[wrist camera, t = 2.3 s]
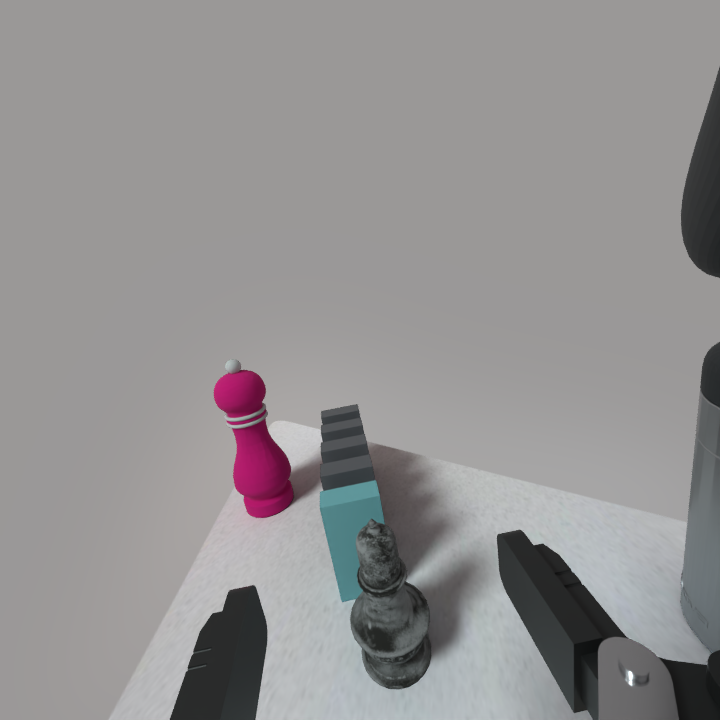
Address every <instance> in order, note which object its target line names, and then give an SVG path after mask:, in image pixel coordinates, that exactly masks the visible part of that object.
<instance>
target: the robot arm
mask: <svg viewBox="0 0 720 720" xmlns="http://www.w3.org/2000/svg"><path fill="white" fill-rule="evenodd" d="M681 226H682V235H683V241H684V244H685V247H686V250H687V252H688V255H689V257H690V258H691V260H692V261H693V262H694V264H695V265H696V266H697V267H698V268H699V269H701V270H702V271H704V272H705V273H707V274H709V275H712V276H715V277H719V278H720V68H719V71H718V74H717V78H716V81H715V84H714V88H713V91H712V94H711V97H710V101H709V104H708V107H707V110H706V113H705V116H704V120H703V123H702V126H701V129H700V132H699V135H698V139H697V142H696V145H695V149H694V152H693V156H692V159H691V163H690V167H689V171H688V175H687V179H686V183H685V188H684V193H683V200H682V210H681ZM700 388H701V390H700V396H699V407H698V417H697V427H696V439H695V450H694V459H693V470H692V481H691V491H690V502H689V511H688V522H687V532H686V543H685V553H684V564H683V571H682V577H681V585H682V586H681V601H680V603H681V607H682V611H683V615H684V616H685V618H686V620H687V622H688V624H689V626H690V628H691V629H692V630H693V631H694V633H695V634H696V635H697V637H698V638H699V639H700V640H701V642H702V643H703V644H704V645H705V646H706V647H707V648H708V649H709V650H710V651H711V652H712V654H711V655H710V656H709V659H708V664H707V665H701V664H694V663H686V662H678V661H671V660H666V659H663V658H659V657H657V656H656V655H655V654H654V653H653V652H652V651H651V650H649V649H648V648H646V647H645V646H643V645H642V644H640V643H638V642H636V641H633V640H631V639H628V638H627V637H626V636H625V635H624V634H623V632H622V631H621V630H620V629H619V628H618V626H617V625H616V624H615V623H614V622H613V620H612V619H611V618H610V617H609V615H608V614H607V613H606V612H605V611H604V609H603V608H602V607H601V606H600V604H599V603H598V602H597V601H596V600H595V598H594V597H593V596H592V595H591V593H590V592H589V591H588V590H587V588H586V587H585V586H584V585H582V584H581V581H580V580H579V579H578V577H577V576H576V575H575V574H574V573H572V571H571V569H570V568H569V566H568V565H567V564H566V563H565V562H564V560H563V559H562V558H561V557H560V555H559V554H557V553H556V552H554V551H553V550H551V549H550V548H548V547H547V546H545V545H544V544H539V545H533V544H532V543H531V541H530V540H529V539H528V537H527V536H526V535H525V534H524V532H523V531H521V530H516V531H511V532H507V533H502V534H498V535H497V545H498V559H499V571H500V576H501V580H502V583H503V586H504V588H505V590H506V592H507V594H508V596H509V598H510V600H511V601H512V603H513V605H514V607H515V609H516V610H517V612H518V614H519V616H520V617H521V619H522V621H523V623H524V625H525V626H526V628H527V630H528V632H529V634H530V635H531V637H532V639H533V641H534V642H535V644H536V646H537V648H538V650H539V651H540V653H541V655H542V657H543V659H544V660H545V662H546V664H547V666H548V667H549V669H550V671H551V673H552V675H553V676H554V678H555V680H556V682H557V684H558V685H559V687H560V689H561V691H562V692H563V694H564V696H565V698H566V700H567V701H568V703H569V705H570V707H571V709H572V710H573V712H574V713H576V712H580V711H584V710H588V712H589V713H590V715H591V717H592V718H593V720H720V342H719V343H718V344H716V345H714V346H713V347H712V348H711V349H710V350H709V351H708V352H707V354H706V356H705V358H704V362H703V366H702V376H701V386H700ZM266 647H267V624H266V619H265V616H264V612H263V609H262V606H261V603H260V599H259V596H258V593H257V589H256V587H255V586H254V585H252V586H248V587H243V588H238V589H233V590H230V591H229V592H228V595H227V598H226V601H225V604H224V608H223V611H222V612H217V613H213V614H212V615H211V616H210V618H209V619H208V621H207V622H206V624H205V625H204V627H203V628H202V630H201V631H200V633H199V636H198V639H197V642H196V645H195V648H194V651H193V652H194V653H193V655H192V656H191V659H190V662H189V665H188V671H187V672H186V674H185V677H184V680H183V683H182V686H181V689H180V691H179V694H178V697H177V700H176V703H175V706H174V709H173V712H172V715H171V718H170V720H255V718H256V712H257V705H258V699H259V692H260V686H261V679H262V673H263V666H264V660H265V654H266Z"/></svg>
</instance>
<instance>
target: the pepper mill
mask: <svg viewBox="0 0 720 720" xmlns="http://www.w3.org/2000/svg"><path fill="white" fill-rule="evenodd" d="M225 368H226V371H227V372H228V374H226V375H224V376H223V377H222V378H220V379H219V381H218V382H217V383H216V385H215V388H214V398H215V402H216V404H217V406H218V407H219V408H220V409H221V410H223V411H225V412H226V414H225V419H226V420H227V426H228V427H229V428H232V429H233V432H234V435H235V438H236V443H237V454H236V459H235V464H234V473H233V474H234V475H233V478H234V483H235V487H236V489H237V491H238V492H239V493H240V494H242V495H244V503H245V506H246V510H247V512H248V514H250V515H251V516H253V517H257V518H264V517H269V516H272V515H275V514H277V513H279V512H281V511H282V510H284V509H285V508H286V507H287V506H288V505H289V504H290V503H291V501H292V499H293V496H294V495H293V489H292V485H291V482H290V481H289V480H288V479H289V476H290V473H291V466H290V463H289V461H288V458H287V456H286V455H285V453H284V452H283V451H282V450H281V448H280V447H279V446H278V445H277V444H276V443H275V442H274V440H273V439H272V438H271V436H270V434H269V432H268V429H267V426H266V421H265V418H266V417H267V415H268V412H267V410H266V405H265V404H264V403H262V401H263V399H264V397H265V393H266V388H265V385H264V382H263V380H262V379H261V377H260V376H259V375H258V374H256V373H254V372H252V371H248V370H240V369H241V364H240V362H239V361H237V360H234V359H232V360H229V361H228V362H227V363H226V365H225Z"/></svg>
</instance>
